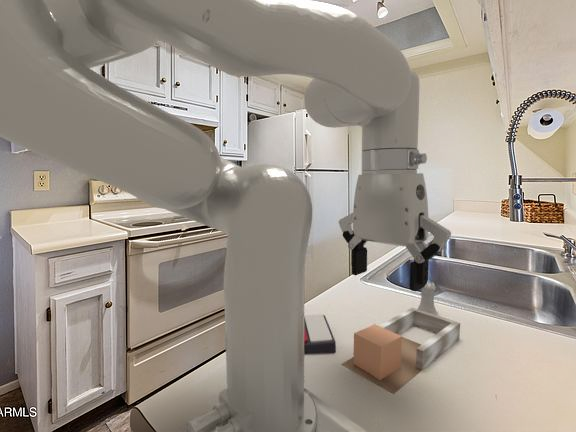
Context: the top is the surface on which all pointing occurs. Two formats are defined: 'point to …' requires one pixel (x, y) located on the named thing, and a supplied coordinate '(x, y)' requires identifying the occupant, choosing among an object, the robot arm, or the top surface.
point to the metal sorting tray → (414, 347)
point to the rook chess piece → (428, 299)
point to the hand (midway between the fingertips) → (386, 280)
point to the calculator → (318, 335)
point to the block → (377, 351)
